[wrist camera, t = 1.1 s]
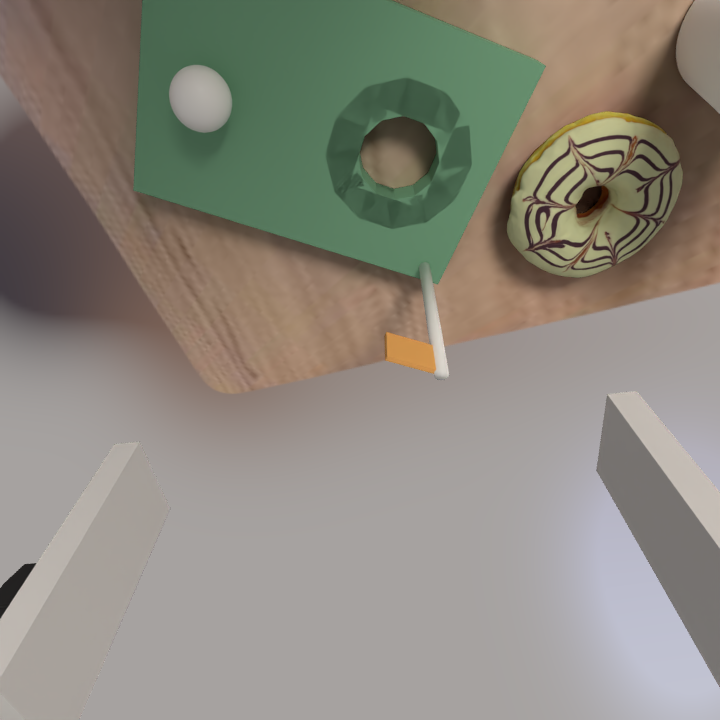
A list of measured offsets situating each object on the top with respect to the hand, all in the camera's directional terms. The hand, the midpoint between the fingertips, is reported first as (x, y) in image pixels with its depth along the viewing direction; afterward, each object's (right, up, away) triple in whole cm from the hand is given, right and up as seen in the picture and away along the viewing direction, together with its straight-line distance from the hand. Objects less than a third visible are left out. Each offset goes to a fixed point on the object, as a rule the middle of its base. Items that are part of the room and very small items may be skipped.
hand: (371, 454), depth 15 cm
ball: (-9, +17, +14) cm, 24 cm away
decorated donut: (+15, +15, +21) cm, 30 cm away
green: (-3, +18, +18) cm, 26 cm away
